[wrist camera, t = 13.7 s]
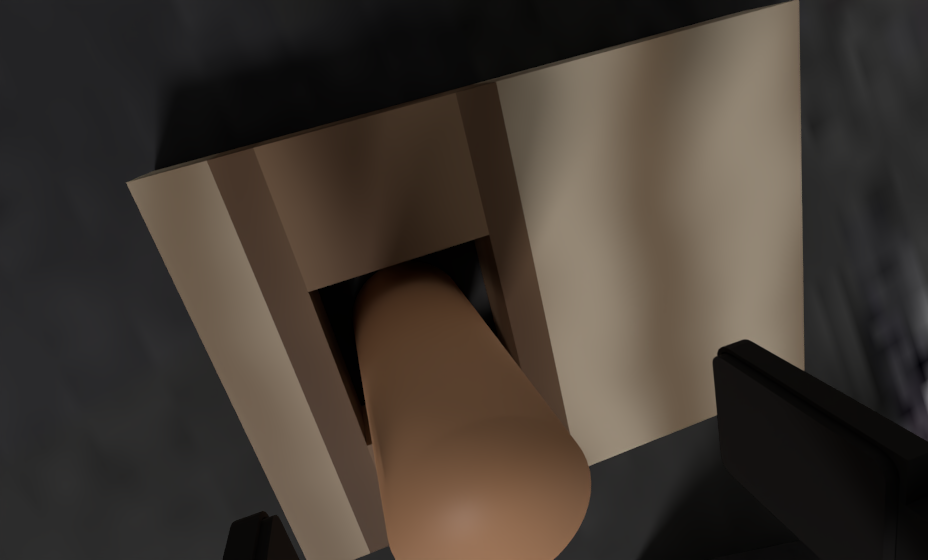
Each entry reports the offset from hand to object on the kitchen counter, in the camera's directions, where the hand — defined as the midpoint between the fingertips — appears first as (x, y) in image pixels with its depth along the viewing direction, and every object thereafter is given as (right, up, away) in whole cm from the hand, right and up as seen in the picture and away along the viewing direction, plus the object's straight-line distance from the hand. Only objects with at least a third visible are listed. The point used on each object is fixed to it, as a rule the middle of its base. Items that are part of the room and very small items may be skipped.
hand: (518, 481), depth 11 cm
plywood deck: (+1, +4, +9) cm, 10 cm away
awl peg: (-3, +3, +8) cm, 9 cm away
